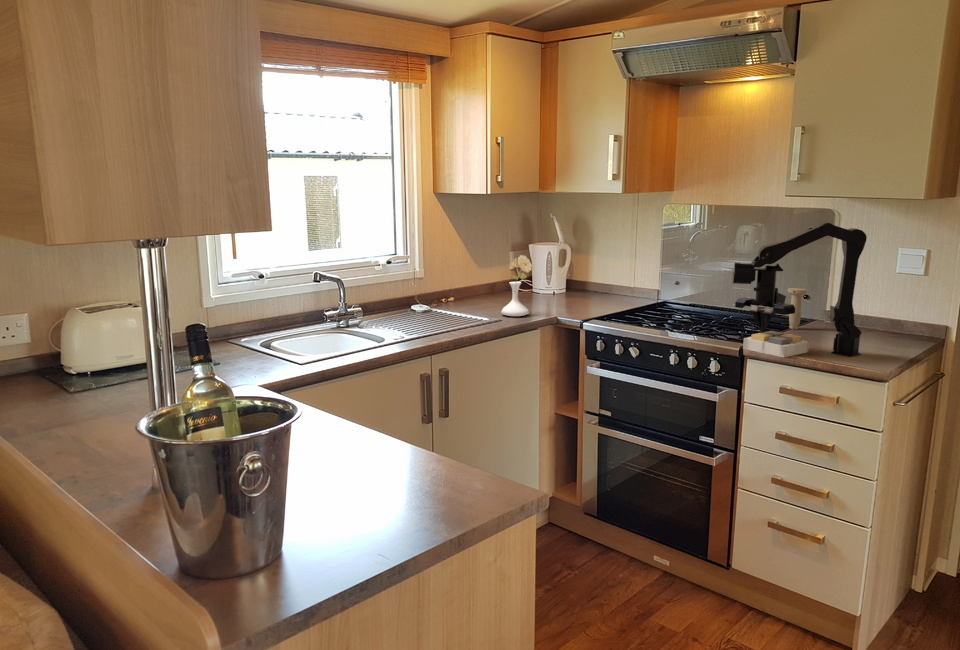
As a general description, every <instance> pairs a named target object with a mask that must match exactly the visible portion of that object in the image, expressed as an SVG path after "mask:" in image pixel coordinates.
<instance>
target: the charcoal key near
mask: <svg viewBox="0 0 960 650" xmlns="http://www.w3.org/2000/svg"><path fill="white" fill-rule="evenodd" d="M768 343H773V344H778V345H785V344H790V338H785V337H780V336H775V337H770V338H769V342H768Z"/></svg>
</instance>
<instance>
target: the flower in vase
mask: <svg viewBox="0 0 960 650" xmlns="http://www.w3.org/2000/svg"><path fill="white" fill-rule="evenodd" d="M517 263H518V267H520V270H519V273H518V275H517V276H516V275H514V274H511V279H514V280H515V281H510V282H508V283H509V285H510V287H511V292H512V297H511V301H510V302H509V303H508V304H507V305H505V306H504V307H503V308H502V309H501V314H502V315H504V316H509V317H521V316H522V317H523V316H526V315H528V314H529V313H530V312H529V309H528V308H527V307H526V306H525V305H524V304H523V303H522V302H520V300H519V289H520V286H521V284H522V282H521V281H518V280H519V278H521V279H522V280H525V279H527V278H528V276H527V275H526V273H530V272H531V271H532V269H533V268H532V267H533V265H532V263H531V260H530V259H529V258H528V257H527V256H526V255H525V254H524V255H523V254H521V255H519V257H518V259H517ZM522 271H523V272H522Z"/></svg>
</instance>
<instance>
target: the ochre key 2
mask: <svg viewBox="0 0 960 650" xmlns="http://www.w3.org/2000/svg"><path fill="white" fill-rule="evenodd" d="M780 337H785V338H790V342H791V343H795V342H800V341H801V340H802V336H801V335H796V334H791V333H785V334H784V335H781V336H780Z"/></svg>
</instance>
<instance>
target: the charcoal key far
mask: <svg viewBox="0 0 960 650" xmlns="http://www.w3.org/2000/svg"><path fill="white" fill-rule="evenodd" d="M762 333H764V334H769V335H773V337H775V336H781V335H785V334H784V332H779V331H774V330H769V331H765V332H762Z"/></svg>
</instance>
